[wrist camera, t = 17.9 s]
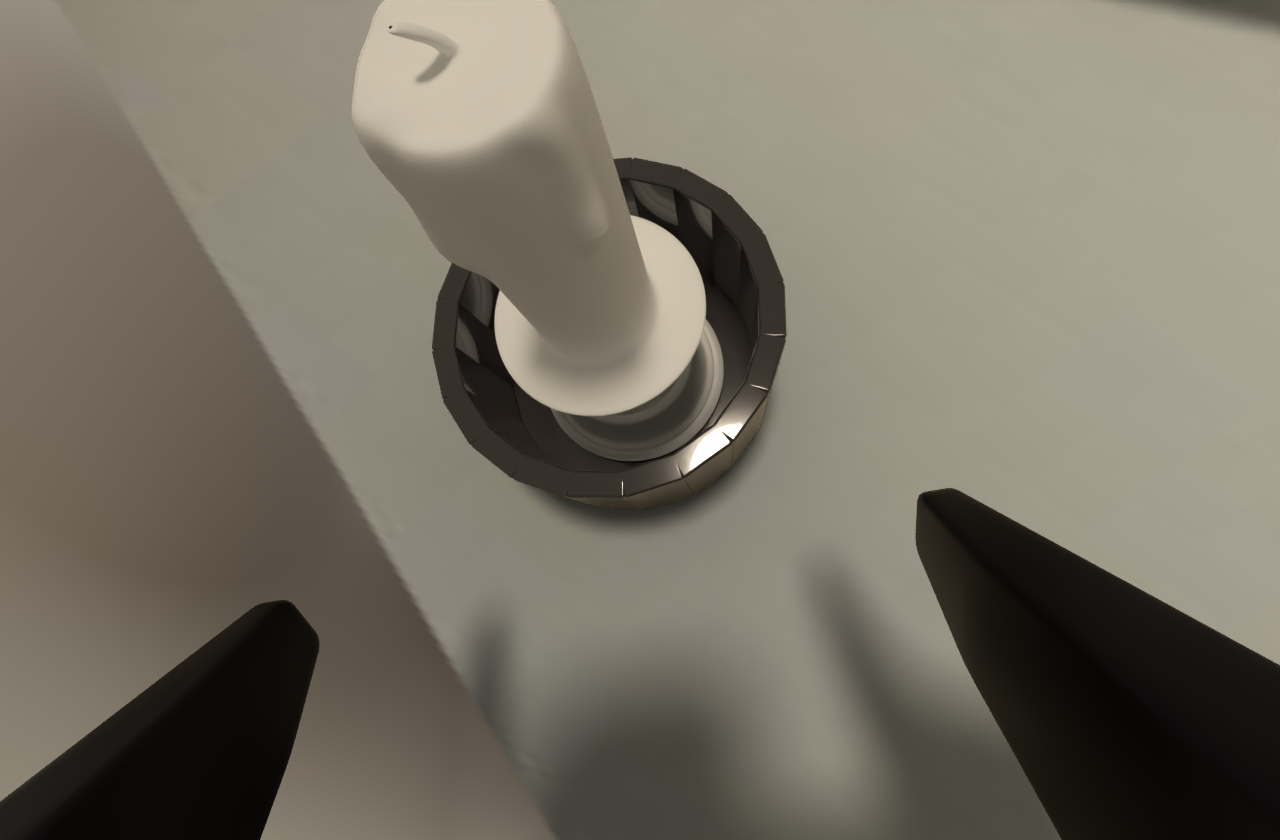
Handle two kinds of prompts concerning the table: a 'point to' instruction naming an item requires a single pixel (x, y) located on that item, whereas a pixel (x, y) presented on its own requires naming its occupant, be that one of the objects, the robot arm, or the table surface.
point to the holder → (735, 308)
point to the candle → (540, 217)
